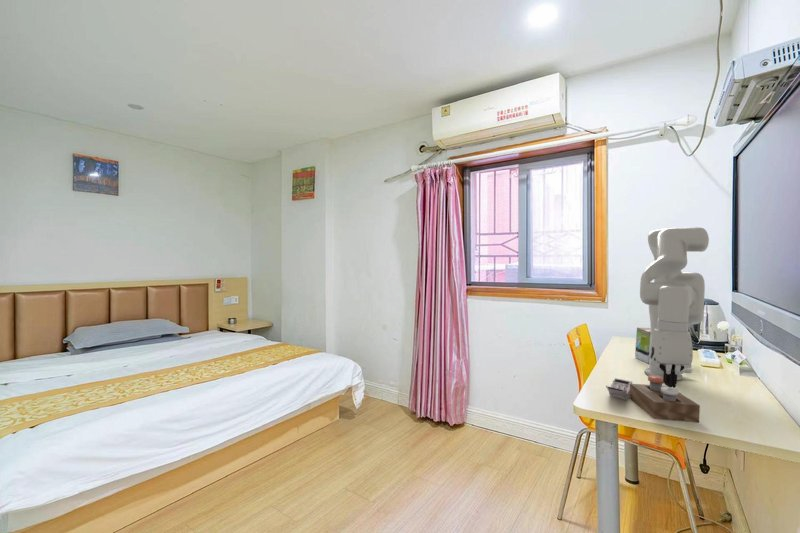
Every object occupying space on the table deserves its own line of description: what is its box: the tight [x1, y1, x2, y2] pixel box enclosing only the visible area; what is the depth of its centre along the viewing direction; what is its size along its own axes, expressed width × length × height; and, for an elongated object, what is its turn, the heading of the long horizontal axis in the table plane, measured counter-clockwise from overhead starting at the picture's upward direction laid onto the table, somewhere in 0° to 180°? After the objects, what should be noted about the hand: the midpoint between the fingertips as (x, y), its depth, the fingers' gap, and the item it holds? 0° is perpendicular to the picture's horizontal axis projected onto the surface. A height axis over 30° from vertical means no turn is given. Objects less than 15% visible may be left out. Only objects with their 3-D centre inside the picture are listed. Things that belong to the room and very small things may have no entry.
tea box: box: [634, 327, 651, 364], centre depth 171 cm, size 15×10×15 cm
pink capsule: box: [647, 375, 664, 392], centre depth 120 cm, size 4×4×7 cm
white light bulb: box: [661, 385, 680, 401], centre depth 112 cm, size 4×4×7 cm
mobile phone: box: [605, 377, 633, 400], centre depth 129 cm, size 6×6×25 cm
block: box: [629, 383, 701, 423], centre depth 116 cm, size 12×16×5 cm
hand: (669, 385), depth 112 cm, fingers closed
